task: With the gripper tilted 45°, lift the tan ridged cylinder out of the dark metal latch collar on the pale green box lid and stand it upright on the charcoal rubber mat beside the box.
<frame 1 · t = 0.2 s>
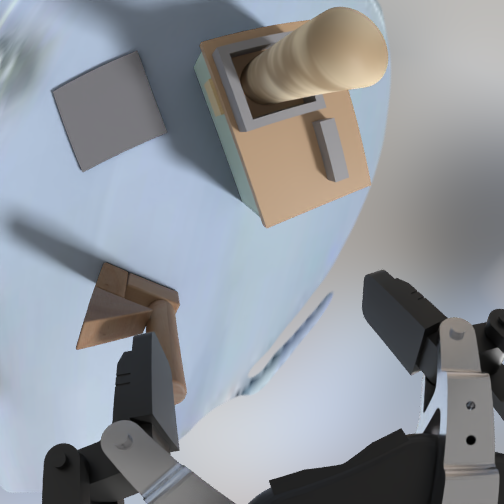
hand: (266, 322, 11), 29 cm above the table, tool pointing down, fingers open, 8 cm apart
charcoal mat: (108, 110, 30), on the table
pale green box: (263, 119, 36), on the table
tan ridged cylinder: (265, 81, 25), point 10 cm above the table, touching pale green box
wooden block: (137, 287, 39), on the table
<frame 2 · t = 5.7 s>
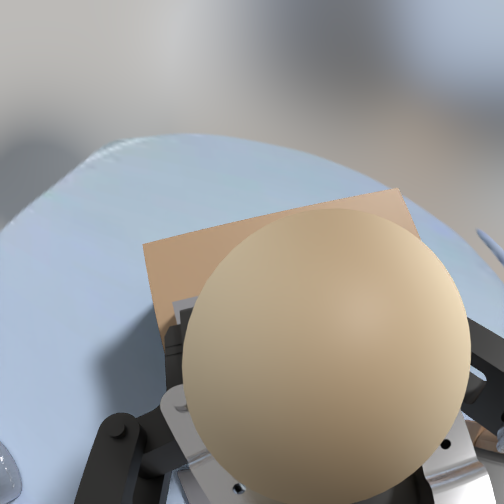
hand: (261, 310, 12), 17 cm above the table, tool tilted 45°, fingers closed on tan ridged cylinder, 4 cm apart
pale green box: (286, 321, 28), on the table
tan ridged cylinder: (260, 355, 17), point 10 cm above the table, touching gripper, pale green box
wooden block: (449, 463, 24), on the table
when the fingers open (9 cm above the table, at t = 13.8 s): tan ridged cylinder drops 2 cm, resting on charcoal mat.
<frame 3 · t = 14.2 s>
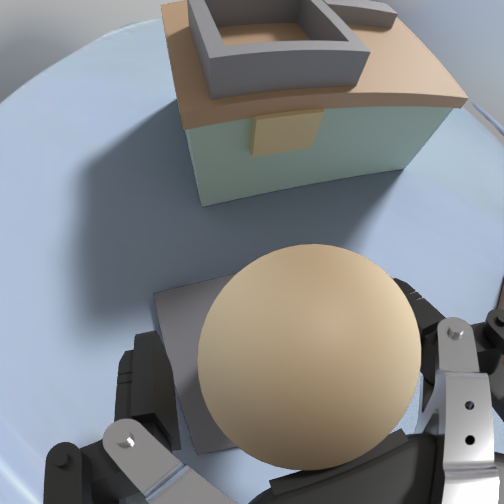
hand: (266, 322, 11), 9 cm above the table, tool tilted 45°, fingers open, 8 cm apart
charcoal mat: (256, 355, 19), on the table
pale green box: (291, 125, 25), on the table
tan ridged cylinder: (257, 357, 19), point 1 cm above the table, touching charcoal mat
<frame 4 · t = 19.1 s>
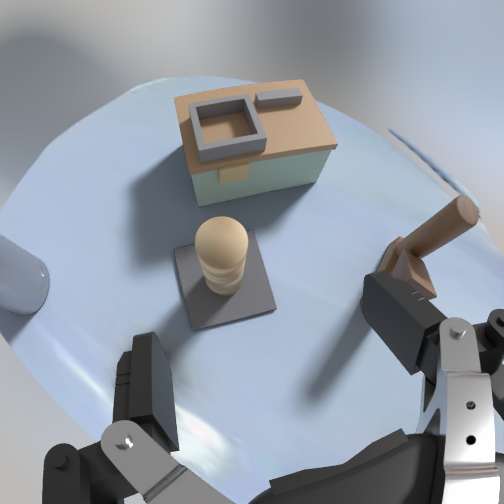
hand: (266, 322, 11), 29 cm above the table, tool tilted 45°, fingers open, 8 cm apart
charcoal mat: (223, 279, 41), on the table
pale green box: (248, 160, 47), on the table
tan ridged cylinder: (223, 279, 40), point 1 cm above the table, touching charcoal mat
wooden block: (384, 279, 42), on the table
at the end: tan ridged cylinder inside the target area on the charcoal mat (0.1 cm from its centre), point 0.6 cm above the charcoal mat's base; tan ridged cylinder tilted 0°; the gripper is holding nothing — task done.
